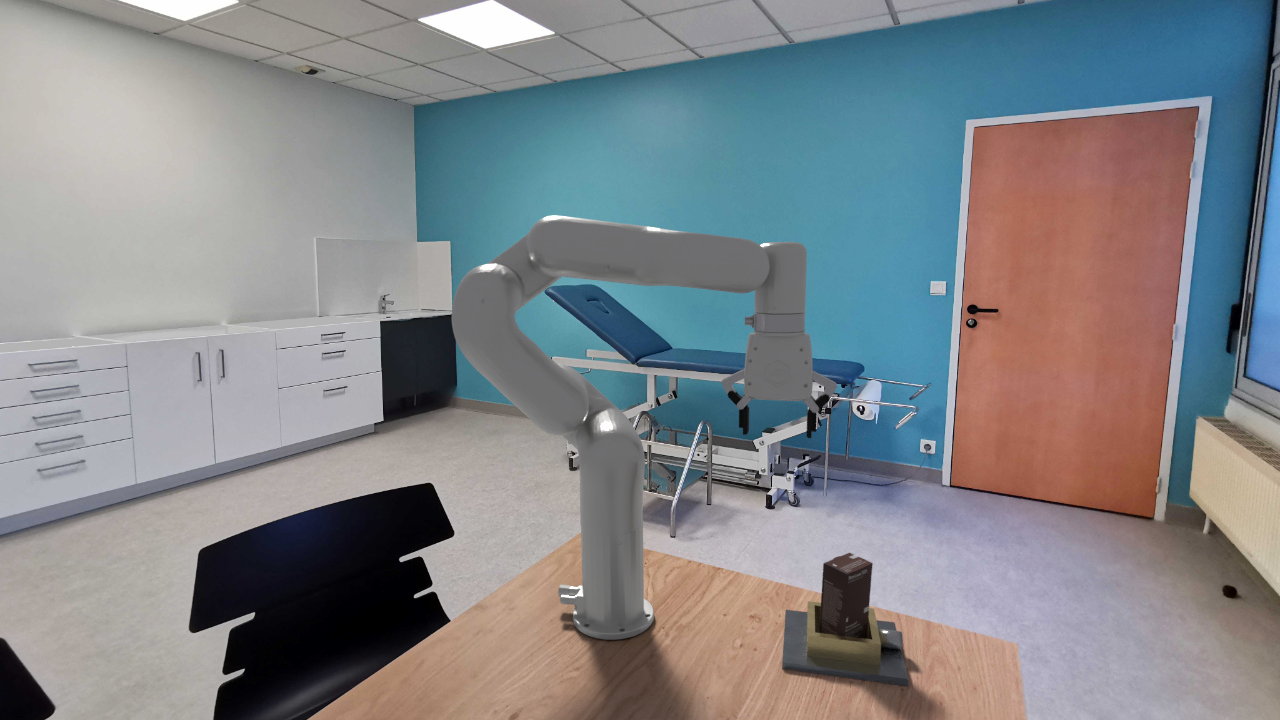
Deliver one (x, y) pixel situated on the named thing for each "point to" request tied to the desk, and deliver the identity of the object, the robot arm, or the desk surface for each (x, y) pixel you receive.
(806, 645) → the square socket base
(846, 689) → the desk surface
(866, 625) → the box
